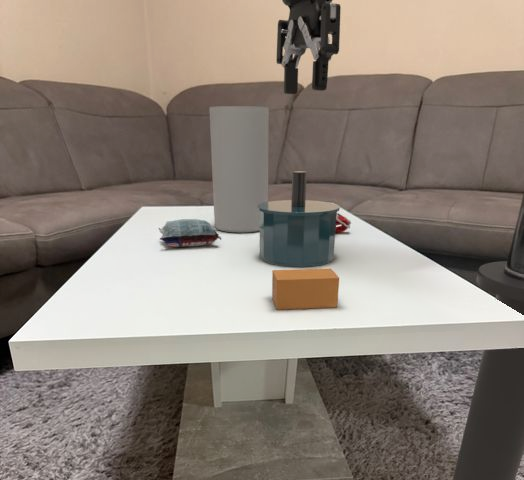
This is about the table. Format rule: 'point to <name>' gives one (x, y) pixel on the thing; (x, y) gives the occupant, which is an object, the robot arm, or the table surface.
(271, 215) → the pot
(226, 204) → the cylinder vase
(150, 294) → the table surface
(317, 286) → the orange rectangular block
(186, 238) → the packaged food
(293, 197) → the lid
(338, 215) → the tracker holder
